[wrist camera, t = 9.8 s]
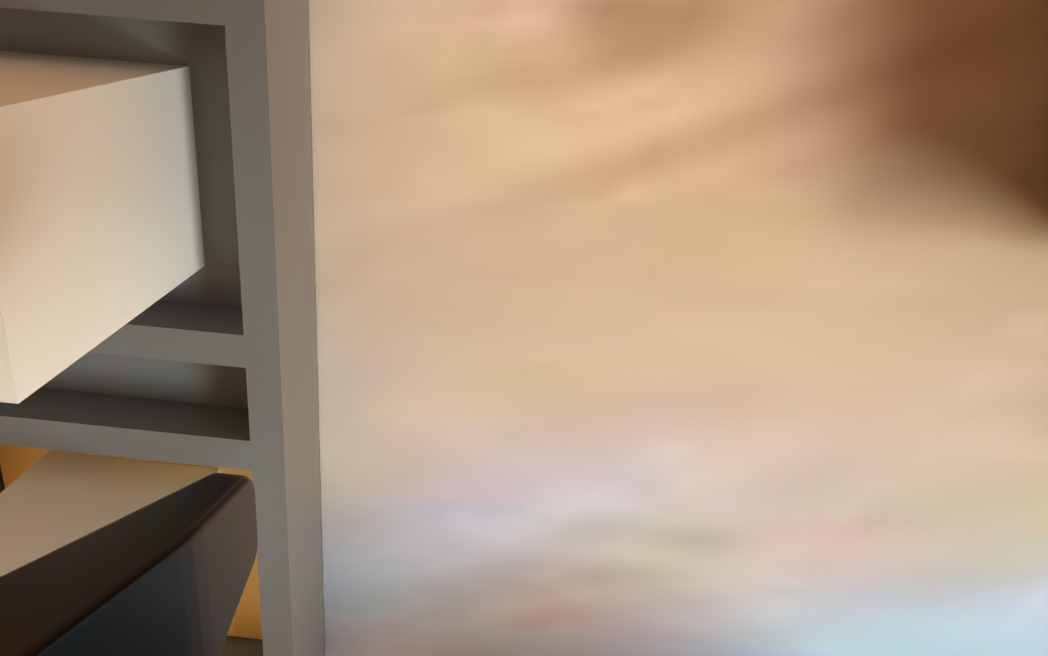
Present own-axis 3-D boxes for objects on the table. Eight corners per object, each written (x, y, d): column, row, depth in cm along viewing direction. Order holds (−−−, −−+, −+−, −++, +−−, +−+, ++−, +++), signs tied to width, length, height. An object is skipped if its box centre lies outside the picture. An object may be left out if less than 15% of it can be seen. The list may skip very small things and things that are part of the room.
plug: (230, 607, 23) (87, 854, 17) (72, 589, 24) (-131, 827, 17) (219, 468, 22) (56, 683, 15) (49, 450, 22) (-186, 655, 15)
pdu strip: (324, 657, 26) (210, 949, 18) (37, 625, 26) (-196, 897, 18) (306, -65, 18) (92, -97, 10) (-100, -96, 18) (-602, -150, 11)
